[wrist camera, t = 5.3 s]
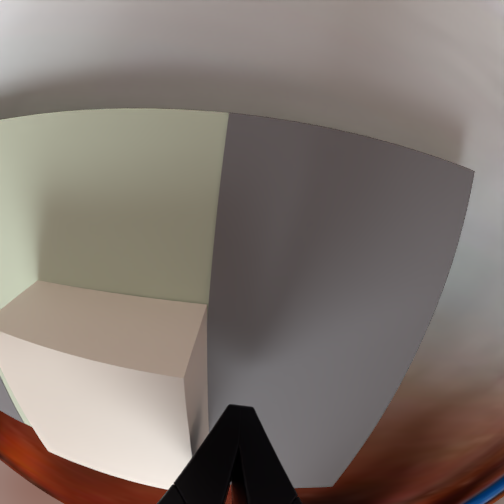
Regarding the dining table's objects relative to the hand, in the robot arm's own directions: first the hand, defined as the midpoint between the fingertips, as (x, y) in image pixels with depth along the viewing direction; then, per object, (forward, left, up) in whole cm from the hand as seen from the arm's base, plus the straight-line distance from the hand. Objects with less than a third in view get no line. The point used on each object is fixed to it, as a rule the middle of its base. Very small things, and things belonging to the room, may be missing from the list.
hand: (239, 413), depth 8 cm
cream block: (0, +4, -1) cm, 4 cm away
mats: (0, +6, -2) cm, 7 cm away
